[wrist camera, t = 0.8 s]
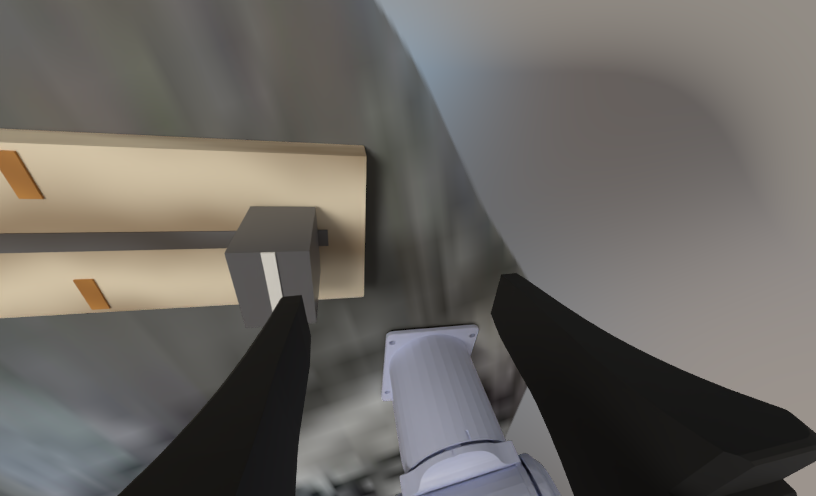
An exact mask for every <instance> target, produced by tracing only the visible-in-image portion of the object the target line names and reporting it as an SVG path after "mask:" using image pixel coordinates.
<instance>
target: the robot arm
mask: <svg viewBox="0 0 816 496" xmlns="http://www.w3.org/2000/svg"><path fill="white" fill-rule="evenodd" d="M491 315H492V317H493V320H494V323H495V325H496V328H497V330H498V333H499V335H500V338H501V339H502V341H503V343H504V345H505V347H506V349H507V351H508V352H509V354H510V356H511V358H512V360H513V361H514V363H515V365H516V367H517V368H518V370H519V372H520V374H521V376H522V377H523V379H524V381H525V383H526V385H527V386H528V388H529V390H530V391H531V394H532V396H533V398H534V399H535V401H536V403H537V405H538V408H539V410H540V412H541V415H542V417H543V419H544V421H545V424H546V426H547V428H548V430H549V433H550V435H551V438H552V440H553V443H554V445H555V448H556V450H557V452H558V455H559V457H560V460H561V462H562V465H563V468H564V470H565V473H566V476H567V478H568V481H569V484H570V486H571V489H572V491H573V494H574V496H797V494H796V492H795V490H794V489H793V488H792V487H790V485H789V484H787V483H786V482H785V481H784V480H783V479H784V478H785V477H787V476H789V475H791V474H793V473H795V472H797V471H798V470H800V469H802V468H804V467H806V466H808V465H810V464H811V463H813V462H815V461H816V433H815V432H814V431H813V430H811V429H810V428H809V427H808V426H806V425H805V424H804V423H803V422H802V421H800V420H799V419H798V418H797V417H795V416H794V415H793V414H792V413H790V412H789V411H787V410H785V409H783V408H780V407H777V406H774V405H771V404H769V403H766V402H763V401H760V400H757V399H754V398H752V397H749V396H746V395H744V394H740V393H738V392H735V391H732V390H730V389H727V388H725V387H722V386H720V385H717V384H715V383H712V382H710V381H707V380H705V379H702V378H700V377H697V376H695V375H693V374H690V373H688V372H686V371H683V370H681V369H679V368H677V367H674V366H672V365H670V364H668V363H666V362H664V361H662V360H659V359H657V358H655V357H653V356H651V355H649V354H647V353H645V352H643V351H641V350H639V349H637V348H635V347H633V346H631V345H629V344H627V343H626V342H624V341H622V340H620V339H618V338H616V337H614V336H613V335H611V334H609V333H607V332H606V331H604V330H602V329H600V328H599V327H597V326H596V325H594V324H592V323H590V322H589V321H587V320H586V319H584V318H582V317H581V316H579V315H578V314H576V313H575V312H573V311H572V310H570V309H569V308H567V307H566V306H564V305H562V304H561V303H560V302H558V301H557V300H555V299H554V298H552V297H551V296H549V295H548V294H547V293H545V292H544V291H542V290H541V289H539V288H538V287H536V286H535V285H533V284H532V283H531V282H529V281H528V280H526V279H525V278H523V277H522V276H520V275H518V274H517V273H513V274H503V275H501V278H500V281H499V285H498V289H497V292H496V296H495V300H494V304H493V307H492V311H491ZM478 331H479V329H478V327H477V325H474V324H472V325H460V326H448V327H436V328H425V329H413V330H401V331H391V332H389V333H387V335H386V342H385V355H384V367H383V379H382V392H381V398H382V400H383V401H390V400H392V401H393V408H394V415H395V421H396V428H397V435H398V441H399V448H400V455H401V461H402V465H403V468H404V471H405V474H403V475H400V483H401V490H402V493H399V494H396V495H395V496H561V494H560V492H559V491H558V489H557V487H556V485H555V483H554V482H553V480H552V478H551V477H550V475H549V473H548V472H547V470H546V469H545V468H544V466H543V465H542V464H541V463H540V462H538V461H537V460H535V459H534V458H532V457H531V456H530V455H529V454H527V453H523V454H520V455H518V454H517V451H516V449H515V447H514V445H513V442H512V441H511V440H509V441H506V439H505V437H504V435H503V432H502V430H501V428H500V425H499V423H498V420H497V418H496V416H495V413H494V411H493V409H492V406H491V404H490V402H489V399H488V397H487V395H486V392H485V390H484V388H483V385H482V383H481V381H480V378H479V376H478V373H477V371H476V369H475V366H474V364H473V362H472V359H471V357H470V356H471V353H472V350H473V347H474V344H475V341H476V338H477V335H478ZM310 346H311V334H310V330H309V325H308V321H307V316H306V312H305V307H304V303H303V298H302V295H296V296H286V297H282V298H281V299H280V300H279V302H278V304H277V305H276V307H275V309H274V310H273V312H272V314H271V316H270V317H269V319H268V320H267V322H266V324H265V325H264V327H263V328H262V330H261V331H260V333H259V334H258V336H257V337H256V339H255V340H254V342H253V343H252V345H251V346H250V348H249V349H248V351H247V352H246V354H245V355H244V356H243V358H242V359H241V360H240V362H239V363H238V364H237V366H236V367H235V368H234V370H233V371H232V372H231V374H230V375H229V376H228V378H227V379H226V380H225V382H224V383H223V384H222V385H221V387H220V388H219V389H218V390H217V392H216V393H215V394H214V395H213V396H212V398H211V399H210V400H209V401H208V402H207V404H206V405H205V406H204V407H203V408H202V409H201V411H200V412H199V413H198V414H197V415H196V416H195V417H194V418H193V420H192V421H191V422H190V423H189V424H188V425H187V426H186V427H185V428H184V429H183V430H182V431H181V433H180V434H179V435H178V436H177V437H176V438H175V439H174V440H173V441H172V442H171V443H170V444H169V445H168V446H167V448H166V449H165V450H164V451H163V452H162V453H161V454H160V455H159V456H158V457H157V458H156V459H155V460H154V461H153V462H152V463H151V464H150V465H149V466H148V467H147V468H146V469H145V470H144V471H143V472H141V473H140V474H139V475H138V476H137V477H136V478H135V479H134V480H133V481H132V482H131V483H130V484H129V485H128V486H127V487H126V488H125V489H124V490H123V491H122V492H121V493H120V494H119V495H118V496H295V489H296V472H297V455H298V443H299V434H300V427H301V421H302V414H303V407H304V401H305V394H306V387H307V381H308V374H309V367H310Z"/></svg>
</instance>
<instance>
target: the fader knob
mask: <svg viewBox="0 0 816 496" xmlns="http://www.w3.org/2000/svg"><path fill="white" fill-rule="evenodd" d="M224 254H225V258H226V261H227V265H228V268H229V272H230V275H231V279H232V282H233V286H234V289H235V293H236V296H237V299H238V303H239V306H240V310H241V313H242V317H243V320H244V324H245V327H246V328H254V327H264V325H265V324H266V322H267V320H268V319H269V317H270V316H271V314H272V312H273V310H274V309H275V307H276V305H277V304H278V302H279V300H280V299H281V298H282V297H286V296H296V295H302V298H303V303H304V307H305V312H306V316H307V321H308V323H316V322H317V310H318V297H319V285H320V273H321V268H320V255H319V243H318V230H317V217H316V207H292V206H250V208H249V210H248V211H247V213H246V215H245V217H244V219H243V220H242V222H241V224H240V226H239V228H238V229H237V231H236V233H235V235H234V237H233V238H232V240H231V242H230V244H229V246H228V247H227V249H226V251H225V253H224Z"/></svg>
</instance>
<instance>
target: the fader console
mask: <svg viewBox="0 0 816 496" xmlns="http://www.w3.org/2000/svg"><path fill="white" fill-rule="evenodd" d="M366 158H367V157H366V153H365V149H364V146H363V145H342V144H321V143H299V142H278V141H256V140H235V139H214V138H192V137H171V136H149V135H128V134H106V133H85V132H64V131H42V130H21V129H0V318H11V317H28V316H45V315H62V314H80V313H97V312H114V311H131V310H148V309H165V308H182V307H199V306H216V305H233V304H239V303H238V299H237V296H236V293H235V289H234V286H233V282H232V279H231V275H230V272H229V268H228V265H227V261H226V258H225V254H224V253H225V251H226V249H227V247H228V246H229V244H230V242H231V240H232V238H233V237H234V235H235V233H236V231H237V229H238V228H239V226H240V224H241V222H242V220H243V219H244V217H245V215H246V213H247V211H248V210H249V208H250V206H292V207H316V217H317V230H318V243H319V255H320V268H321V273H320V285H319V297H318V300H319V299H336V298H353V297H364V260H365V209H366Z"/></svg>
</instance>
